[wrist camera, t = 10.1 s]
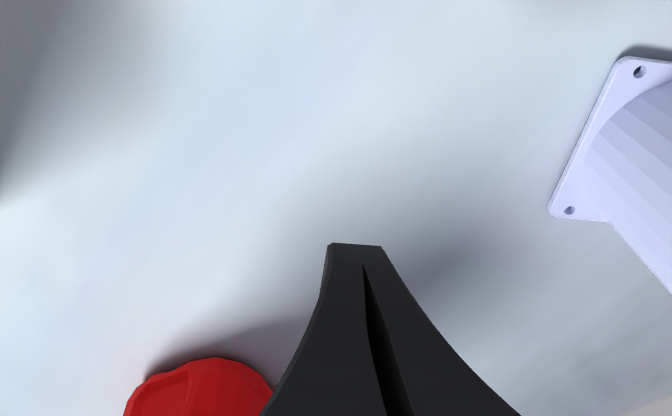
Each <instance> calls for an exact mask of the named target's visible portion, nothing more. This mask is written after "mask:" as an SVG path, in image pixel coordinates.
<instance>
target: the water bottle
mask: <svg viewBox="0 0 672 416" xmlns="http://www.w3.org/2000/svg"><path fill="white" fill-rule="evenodd" d="M273 392H274V391H272V390H271V389H270V387H269V386H268V384H267V383H266V382H265V380H264V379H263V377H262V376H261V375H260V374H259V373H258V372H256V371H254V370H253V369H251V368H250V367H248V366H247V365H245V364H243V363H241V362H236V361H232V360H227V359H223V358H218V357H211V358H206V359H200V360H195V361H190V362H188V363H186V364H184V365H182V366H181V367H179V368H177V369H175V370H173V371H169V372H164V373H159V374H154V375H153V376H152V377H150V378H149V379H148V380H146V381H145V382H144V383H142V384H141V385H140V386H138V387H137V388H136V389H135V391H134V392H133V394H132V395H131V397H130V398H129V400H128V401H127V404H126V408H125V411H124V414H123V416H258V415H259V414H260V412H261V411H262V409H263V408H264V406H265V404H266V403H267V401H268V400H269V398H270V397H271V395H272V394H273Z"/></svg>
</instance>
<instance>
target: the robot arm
mask: <svg viewBox="0 0 672 416" xmlns="http://www.w3.org/2000/svg"><path fill="white" fill-rule="evenodd" d="M639 66H641V69H640V71H639V72H638V73H637V74H635V75H633V73H634V71H635V69H636V68H637V67H639ZM569 206H571V207H570V209H568V210H565V209H566V208H567V207H569ZM547 209H548V212H549V213H550V214H551V215H552V216H553V217H558V218H569V219H579V220H590V221H600V222H609V223H610V224H611V225H612V226H613V228H614V229H615V230H616V231H617V232H618V233H619V234H620V236H621V237H622V238H623V239H624V240H625V241H626V242H627V244H628V245H629V246H630V247H631V248H632V249H633V251H634V252H635V253H636V254H637V255H638V256H639V257H640V259H641V260H642V261H643V262H644V263H645V264H646V265H647V267H648V268H649V269H650V270H651V271H652V272H653V273H654V275H655V276H656V277H657V278H658V279H659V280H660V282H661V283H662V284H663V285H664V286H665V287H666V288H667V290H668V291H669V292H670V293H671V294H672V62H670V61H663V60H656V59H648V58H641V57H634V56H625V57H622V58H620V59H619V60H618V61H617V62H616V63H615V64H614V66H613V68H612V70H611V72H610V74H609V76H608V78H607V80H606V82H605V85H604V87H603V89H602V91H601V93H600V95H599V97H598V99H597V102H596V104H595V106H594V108H593V110H592V112H591V114H590V116H589V119H588V121H587V123H586V125H585V127H584V129H583V131H582V133H581V136H580V138H579V140H578V142H577V144H576V146H575V148H574V150H573V153H572V155H571V157H570V159H569V161H568V163H567V165H566V167H565V170H564V172H563V174H562V176H561V178H560V180H559V182H558V184H557V187H556V189H555V191H554V193H553V195H552V197H551V199H550V201H549V204H548V207H547ZM258 416H521V415H520V414H519V413H517V412H516V411H515V410H514V409H513V408H512V407H511V406H509V405H508V404H507V403H506V402H505V401H504V400H503V399H502V398H501V397H500V396H499V395H498V394H497V393H495V392H494V391H493V390H492V389H491V388H490V387H489V386H488V385H487V384H486V383H485V382H484V381H483V380H482V379H481V378H480V377H479V376H478V375H477V374H476V373H475V372H474V371H473V370H472V369H471V368H470V367H469V366H468V365H467V364H466V363H465V362H464V361H463V359H462V358H461V357H460V356H459V355H458V354H457V353H456V352H455V351H454V349H453V348H452V347H451V346H450V345H449V344H448V342H447V341H446V340H445V339H444V337H443V336H442V335H441V334H440V332H439V331H438V330H437V329H436V327H435V326H434V325H433V324H432V322H431V321H430V320H429V318H428V317H427V316H426V314H425V313H424V311H423V310H422V309H421V307H420V306H419V304H418V303H417V302H416V300H415V299H414V297H413V296H412V294H411V293H410V291H409V290H408V288H407V287H406V285H405V284H404V282H403V281H402V279H401V278H400V276H399V274H398V273H397V271H396V270H395V268H394V266H393V265H392V263H391V261H390V260H389V258H388V256H387V255H386V253H385V251H384V250H383V249H382V247H381V246H370V245H357V244H345V243H331V244H330V245H328V246H327V252H326V258H325V264H324V270H323V276H322V282H321V288H320V294H319V299H318V302H317V305H316V307H315V310H314V312H313V315H312V317H311V320H310V322H309V325H308V327H307V329H306V332H305V334H304V336H303V338H302V340H301V343H300V345H299V347H298V349H297V351H296V353H295V355H294V357H293V359H292V360H291V362H290V364H289V366H288V368H287V370H286V371H285V373H284V375H283V377H282V378H281V380H280V382H279V384H278V385H277V387H276V389H275V390H274V392H273V394H272V395H271V397H270V398H269V400H268V401H267V403H266V404H265V406H264V408H263V409H262V411H261V412H260V414H259V415H258Z"/></svg>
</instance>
